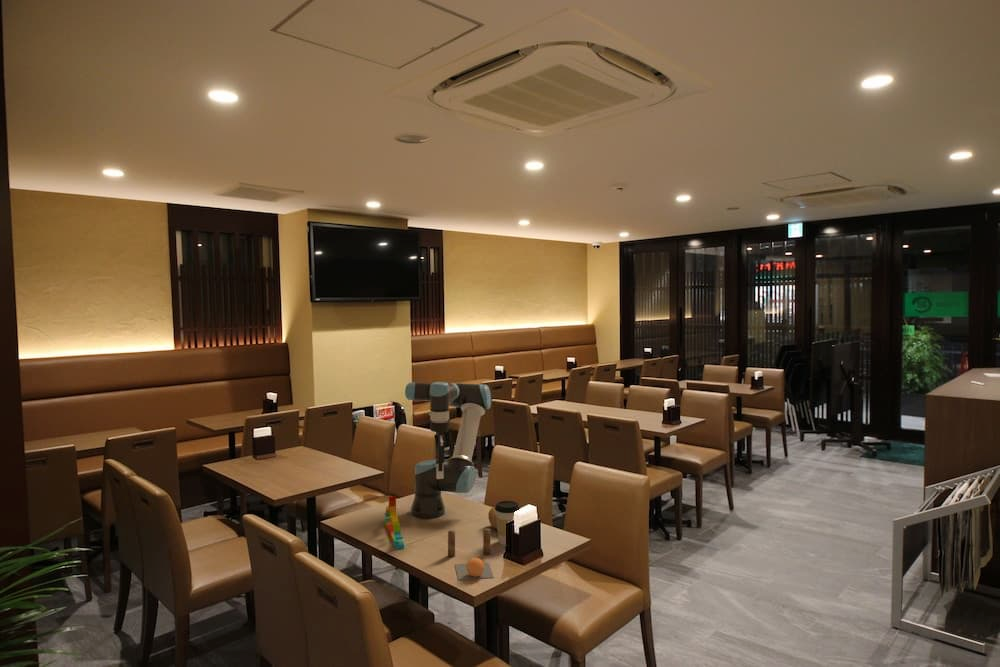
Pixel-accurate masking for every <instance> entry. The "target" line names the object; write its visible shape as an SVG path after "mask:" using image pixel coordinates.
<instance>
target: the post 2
mask: <svg viewBox="0 0 1000 667" xmlns="http://www.w3.org/2000/svg"><path fill="white" fill-rule="evenodd" d="M482 531H483V537H482V538H483V542H482V544H483V546H482V547H483V548H482V551H483V552H482V554H483V555H484V556H489V555H491V529H490V528H483V530H482Z"/></svg>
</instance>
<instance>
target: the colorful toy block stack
mask: <svg viewBox="0 0 1000 667" xmlns="http://www.w3.org/2000/svg"><path fill="white" fill-rule="evenodd" d="M396 497H397V496H389V497H388V505H387V506H386V507H385V512H384V517H386V518H383V519H384V521H383V522H384V524H385V527H386V530H387V531H388V534H389V536H390V538H391V541H392V543H393V546H394V548H395V549H396V550H404V549H405V543H404V541H403V539H404V537H403V536H402V532H401V531H402V529H401V522H399V514H397V498H396Z"/></svg>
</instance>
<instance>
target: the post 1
mask: <svg viewBox="0 0 1000 667" xmlns="http://www.w3.org/2000/svg"><path fill="white" fill-rule="evenodd" d="M447 557H449V558H454V557H456V530H454V529H453V530H452V529H450V530H448V531H447Z"/></svg>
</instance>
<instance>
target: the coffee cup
mask: <svg viewBox="0 0 1000 667" xmlns="http://www.w3.org/2000/svg"><path fill="white" fill-rule="evenodd" d="M494 507H495V510H496V520H497V529H496V530H497V534H498V543H499V544H500V545H502V546H507V545H506V543H505V536H506V523H507V522H508V521H511V520H512V519H513V516H514V512H515V511H517V510H519V509H520V510H521V507H520V505H519V503H518V502H517V501H514V500H501V501H498V502H497V503H496V504H495V506H494ZM520 510H519V511H520Z"/></svg>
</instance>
